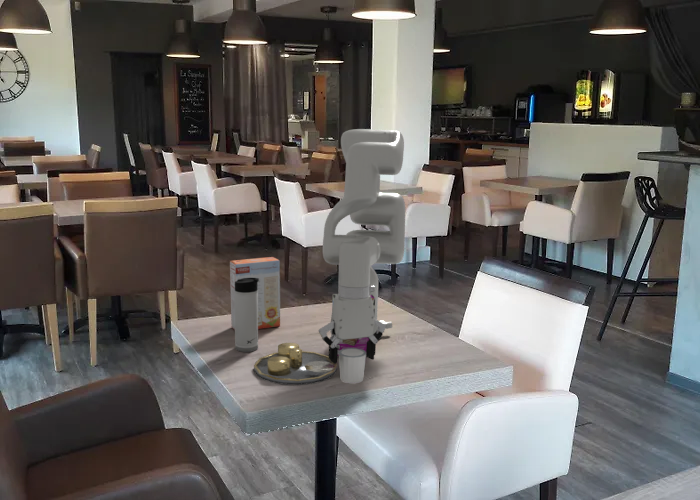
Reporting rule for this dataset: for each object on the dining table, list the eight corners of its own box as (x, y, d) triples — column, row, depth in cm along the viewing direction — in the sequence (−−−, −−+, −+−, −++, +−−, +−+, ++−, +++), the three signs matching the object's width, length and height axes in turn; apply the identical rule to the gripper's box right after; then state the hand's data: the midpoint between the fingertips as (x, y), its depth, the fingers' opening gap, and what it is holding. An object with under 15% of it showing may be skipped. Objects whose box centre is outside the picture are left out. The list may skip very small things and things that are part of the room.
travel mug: (254, 353, 188) (254, 281, 184) (231, 351, 189) (230, 279, 186) (262, 345, 194) (262, 276, 190) (239, 343, 195) (239, 274, 192)
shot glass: (337, 374, 175) (337, 347, 173) (364, 373, 175) (364, 347, 174) (338, 384, 168) (339, 357, 167) (367, 384, 169) (367, 356, 167)
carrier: (320, 351, 191) (320, 333, 190) (349, 378, 172) (349, 359, 171) (245, 359, 183) (245, 341, 182) (266, 389, 164) (266, 369, 163)
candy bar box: (333, 357, 186) (334, 298, 183) (330, 351, 191) (331, 293, 188) (373, 355, 188) (375, 297, 185) (370, 349, 193) (371, 292, 190)
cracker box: (273, 321, 217) (273, 256, 212) (280, 327, 211) (280, 259, 207) (230, 327, 210) (229, 259, 206) (236, 332, 205) (235, 263, 201)
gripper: (380, 286, 174) (377, 352, 177) (314, 290, 167) (313, 358, 170) (393, 293, 167) (390, 361, 170) (325, 297, 160) (324, 368, 163)
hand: (352, 360), depth 170 cm, fingers open, 9 cm apart
